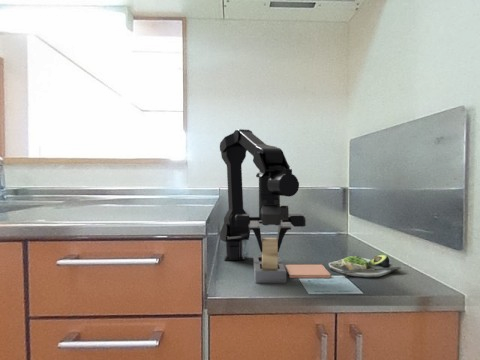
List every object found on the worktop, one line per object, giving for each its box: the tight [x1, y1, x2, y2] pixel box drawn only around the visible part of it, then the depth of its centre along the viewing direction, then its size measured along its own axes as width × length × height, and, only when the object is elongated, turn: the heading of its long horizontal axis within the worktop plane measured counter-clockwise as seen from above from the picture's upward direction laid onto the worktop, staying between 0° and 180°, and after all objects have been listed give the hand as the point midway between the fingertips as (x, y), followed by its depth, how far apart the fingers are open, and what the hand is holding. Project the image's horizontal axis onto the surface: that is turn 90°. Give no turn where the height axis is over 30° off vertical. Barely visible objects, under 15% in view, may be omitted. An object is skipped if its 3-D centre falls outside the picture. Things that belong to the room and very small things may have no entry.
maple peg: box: [261, 237, 279, 269], centre depth 101 cm, size 4×4×8 cm
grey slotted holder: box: [252, 255, 287, 284], centre depth 105 cm, size 18×8×3 cm, turn 0°
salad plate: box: [328, 254, 402, 278], centre depth 108 cm, size 19×18×5 cm
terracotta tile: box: [284, 264, 332, 279], centre depth 106 cm, size 11×11×1 cm
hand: (269, 251), depth 101 cm, fingers closed on maple peg, 4 cm apart
